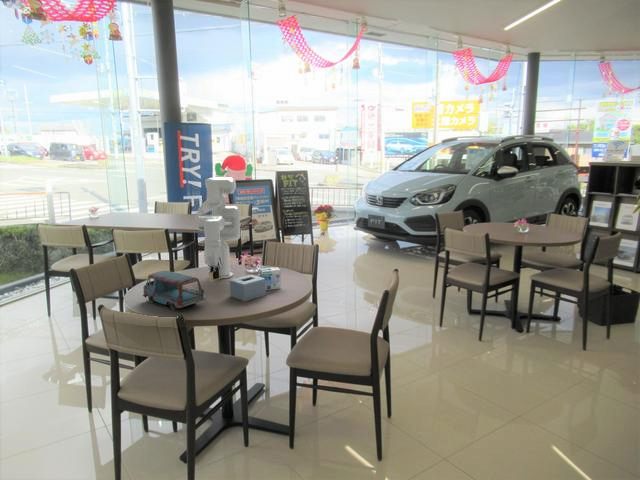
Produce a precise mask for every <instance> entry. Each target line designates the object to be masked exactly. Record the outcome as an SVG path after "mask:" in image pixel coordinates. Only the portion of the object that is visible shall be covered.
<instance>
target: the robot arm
mask: <svg viewBox="0 0 640 480" xmlns="http://www.w3.org/2000/svg"><path fill="white" fill-rule="evenodd" d="M204 186H205V188H206V200H205V201H204V202H202V204H201V205H200V206H198V209H197V211H196V219H195V220H196V221H195V225H196V228H197V230H199V231H201V232H204V244H205V245H204V253H203V254H204V255H203V259H204V264H206V265H207V266H208V267H209V268H208V269H209V272H212V271H214V272H213V278H214V279H217V278H219V272H220V276H221V279H227V278H232V277H233V276H234V272H232V271H231V263H230V262H231V260H230V247H229V245H228V243H227V242H226V241H237V240H240V238H241V233H242V232H241V217H240V216H241V215H240V209H239V208H238V207H237V206H235V205H227V198H226V195H231V194H234V193H235V192H236V189H237V182H236V180H235V178H234V177H209V178H206V179H205V181H204ZM225 194H226V195H225ZM209 212H211V215H206V214H207V213H209ZM226 223H227V224H226ZM228 223H229V224H228ZM230 223H231V224H230Z"/></svg>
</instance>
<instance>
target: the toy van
mask: <svg viewBox="0 0 640 480" xmlns="http://www.w3.org/2000/svg"><path fill="white" fill-rule="evenodd" d="M151 279H152V281H151ZM196 282H197V286H198V290H194V289H188V287H185V285H188V284H189V285H190V284H192V283H196ZM204 292H205V290H204V289H203V288H202V286H201V282H200V280H199V278H197V277H194V276H190V275H187V274H183V273H179V272H174V271H170V270H169V271H168V270H160V271H156V272H153V273H151V274H149V275H148V276H147V280H146V283H145V284H144V285H143V294H142V296H143V297H144V298H147V297H148V298H147V299H148V302H149V303H150V304H154V303H156V302H157V303H158V304H159V303H160V304H161V305H166V306H167V305H169V307H170V309H171V310H172V311H177V310H178V309H182V308H184V307H188V306H190V305H194V304H197V303H200V302H202V301H205V300H206V297H204V294H205V293H204Z"/></svg>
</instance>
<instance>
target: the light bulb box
mask: <svg viewBox="0 0 640 480" xmlns="http://www.w3.org/2000/svg"><path fill="white" fill-rule="evenodd" d="M259 277H262V278H265V286H266V291H268V290H270V291H271V290H276V289H281V287H282V286H281V284H282V283H281V279H282V278H281V269H280V268H279V267H277V266H274V267H266V268H265V267H264V268H259Z"/></svg>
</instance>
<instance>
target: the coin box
mask: <svg viewBox="0 0 640 480" xmlns="http://www.w3.org/2000/svg"><path fill="white" fill-rule="evenodd" d="M266 292H267V290H266V286H265V278H262V277H260V276H257V275H255V274H247V275H243V276H240V277H235V278H231V279H229V293H230V295H229V296H230V297H231V298H234V299H237V300H240V301H242V302H248V301H250V300H255V299H257V298H261V297H264V296H266V294H267V293H266Z"/></svg>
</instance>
